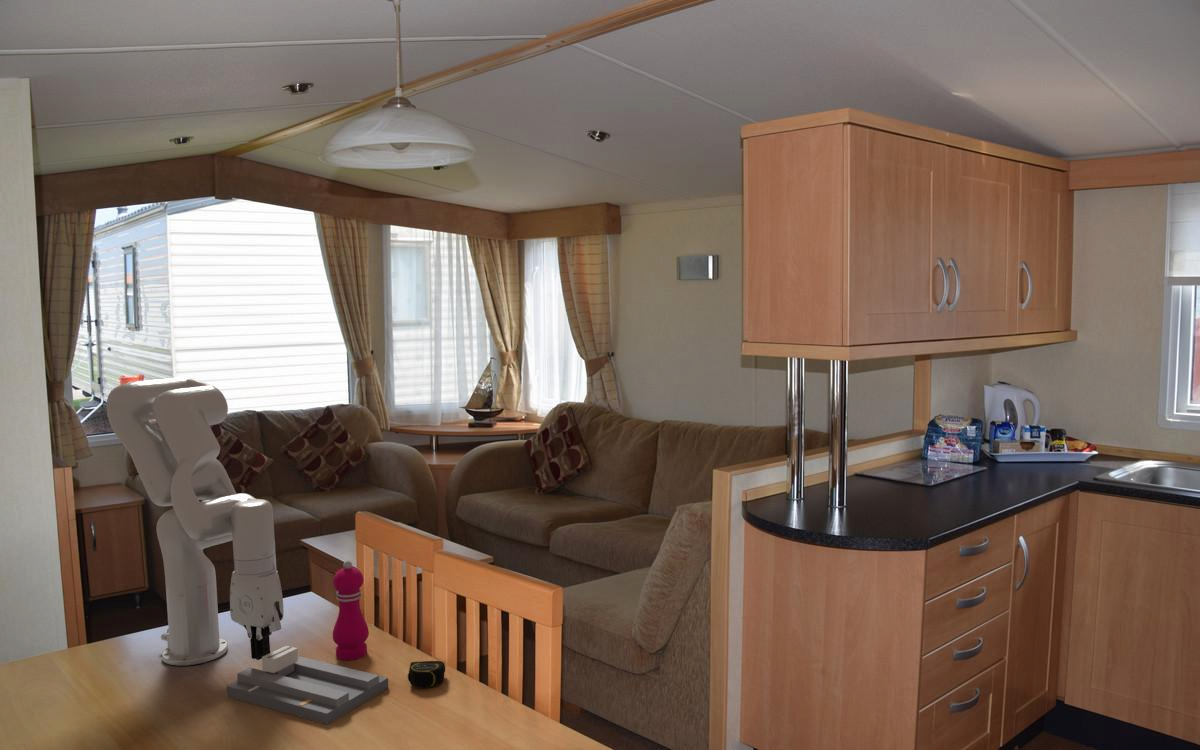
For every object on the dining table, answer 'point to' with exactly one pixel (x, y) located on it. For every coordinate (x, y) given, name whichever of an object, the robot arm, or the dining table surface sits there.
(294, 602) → the dining table surface
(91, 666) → the dining table surface
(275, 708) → the fader console
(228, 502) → the robot arm
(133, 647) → the dining table surface
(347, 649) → the pepper mill
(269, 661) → the fader tab
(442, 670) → the tape measure
